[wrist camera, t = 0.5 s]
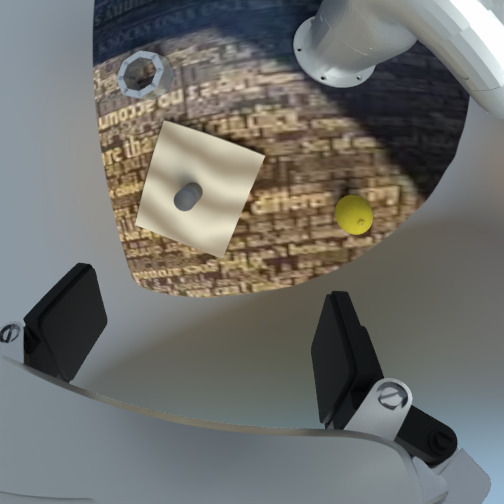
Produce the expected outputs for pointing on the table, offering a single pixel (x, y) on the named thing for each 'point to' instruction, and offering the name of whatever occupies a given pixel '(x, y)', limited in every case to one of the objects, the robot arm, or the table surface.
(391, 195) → the table surface
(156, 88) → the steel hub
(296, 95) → the table surface
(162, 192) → the post board
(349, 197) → the lemon
